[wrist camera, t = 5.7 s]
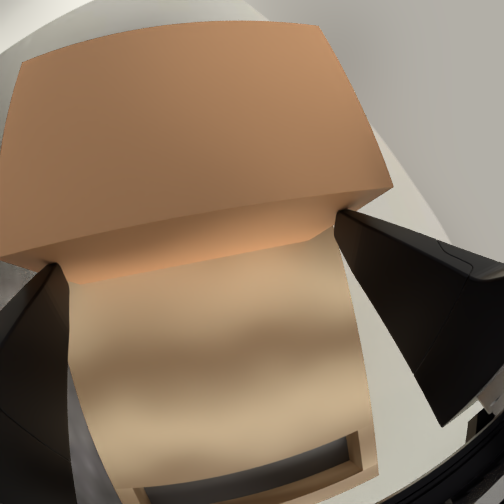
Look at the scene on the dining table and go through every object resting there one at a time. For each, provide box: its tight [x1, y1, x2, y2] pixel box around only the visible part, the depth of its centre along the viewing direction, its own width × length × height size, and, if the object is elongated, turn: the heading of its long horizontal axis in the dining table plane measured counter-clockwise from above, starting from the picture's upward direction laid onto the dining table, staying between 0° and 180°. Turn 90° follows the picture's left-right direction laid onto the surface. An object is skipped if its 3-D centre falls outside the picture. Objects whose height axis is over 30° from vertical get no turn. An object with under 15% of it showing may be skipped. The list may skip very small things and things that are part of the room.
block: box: [0, 21, 394, 285], centre depth 11 cm, size 7×11×7 cm, turn 103°
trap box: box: [67, 226, 379, 504], centre depth 14 cm, size 28×14×2 cm, turn 13°
